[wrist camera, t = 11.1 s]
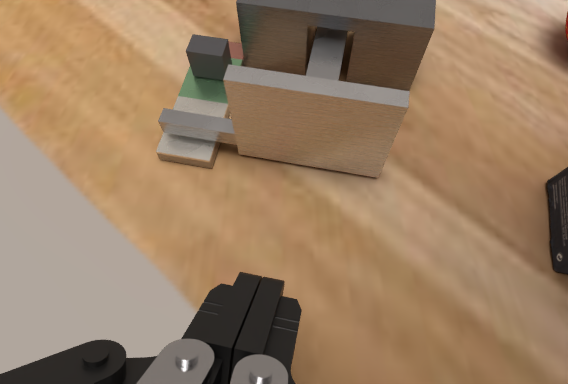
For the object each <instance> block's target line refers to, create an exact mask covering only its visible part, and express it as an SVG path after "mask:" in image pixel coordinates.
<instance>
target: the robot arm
mask: <svg viewBox="0 0 568 384" xmlns="http://www.w3.org/2000/svg"><path fill="white" fill-rule="evenodd" d="M284 282H285V281H282V280H277V279H273V278H268V277H263V278H262V276H258V275H253V274H248V273H243V272H240V273H239V275H238V277H237V279H236V281H235V283H234V285H233V286H231V285H226V284H220V285H218V286H217V287H215V288H214V289H212V290H211V291H210V292H209V294H208V295H207V297H206V299H205V300H204V303H203V304H202V305H201V307H200V309H199V311H198V312H197V314H196V315H195V317H194V319H193V320H192V322H191V324H190V325H189V327H188V329H187V330H186V332H185V334H184V335H183V337H182V339H181V340H177V341H174V342H172V343H170V344H168V345H167V346H166V347H164V349H163V350H162V351H161V352H160V353H159V355H158V356H154V357H147V358H126V351H125V349H124V348H123V347H122V345H120V344H119V343H117V342H114V341H111V340H95V341H91V342H87V343H84V344H82V345H79V346H76V347H73V348H71V349H68V350H65V351H62V352H59V353H57V354H54V355H51V356H49V357H46V358H43V359H40V360H38V361H35V362H32V363H30V364H27V365H24V366H21V367H19V368H16V369H13V370H11V371H8V372H5V373H2V374H0V384H295V382H294V381H293V379H292V376H291V364H292V359H293V354H294V349H295V343H296V338H297V332H298V327H299V321H300V316H301V308H300V305H299V303H298V301H297V299H293V298H288V297H283V290H284Z"/></svg>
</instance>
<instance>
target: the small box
mask: <svg viewBox="0 0 568 384" xmlns="http://www.w3.org/2000/svg"><path fill="white" fill-rule="evenodd" d="M547 183H548V186H547V188H548V193H549V204H550V221H551V226H550V227H551V241H550V243H551V249H552V258H553V266H554V270H555V271H557V272H561V273H565V274H568V167H567V168H566V169H564V170H563V171H561V172H560V173H558V174H557V175H556V176H554V177H552V178H551V179H550V180H548V181H547Z"/></svg>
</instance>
